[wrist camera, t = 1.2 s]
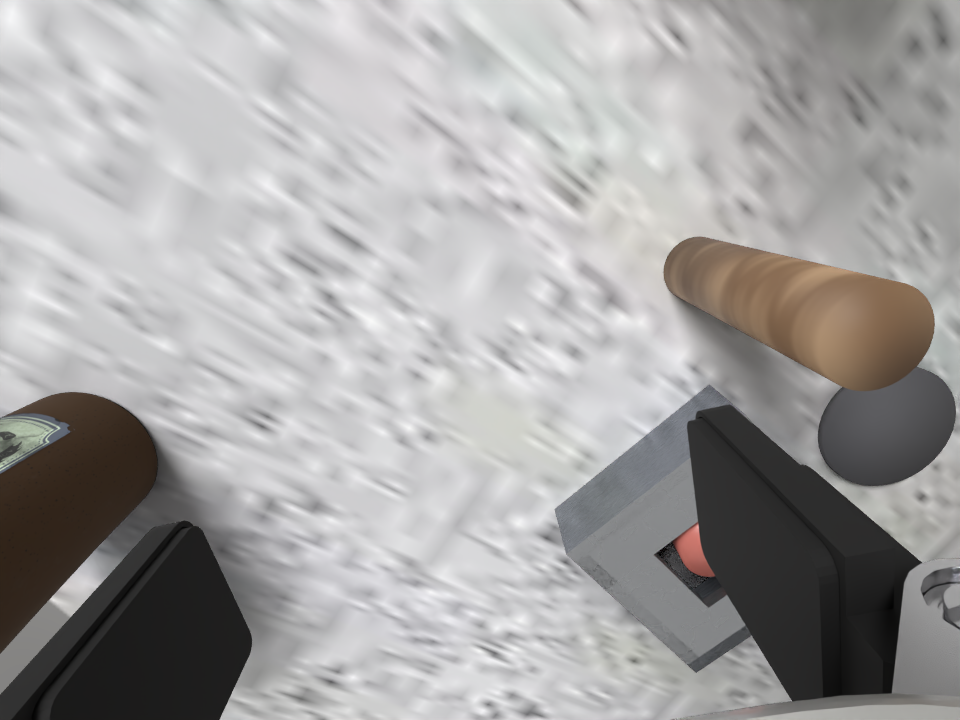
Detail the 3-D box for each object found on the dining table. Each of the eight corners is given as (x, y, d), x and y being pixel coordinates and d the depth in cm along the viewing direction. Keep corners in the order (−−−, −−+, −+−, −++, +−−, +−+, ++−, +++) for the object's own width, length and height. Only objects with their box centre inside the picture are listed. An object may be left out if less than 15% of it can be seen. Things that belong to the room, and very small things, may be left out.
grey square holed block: (709, 384, 37) (745, 414, 32) (821, 511, 40) (868, 555, 35) (554, 509, 39) (566, 554, 35) (670, 618, 43) (696, 672, 38)
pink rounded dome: (706, 488, 37) (722, 508, 35) (743, 527, 38) (761, 549, 36) (655, 526, 38) (667, 548, 35) (693, 564, 39) (707, 587, 36)
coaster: (907, 337, 36) (914, 339, 35) (971, 425, 38) (979, 429, 37) (793, 423, 38) (798, 427, 37) (860, 503, 40) (866, 508, 39)
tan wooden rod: (701, 223, 33) (897, 256, 18) (739, 269, 34) (955, 339, 19) (650, 268, 34) (797, 336, 19) (688, 312, 35) (857, 412, 20)
